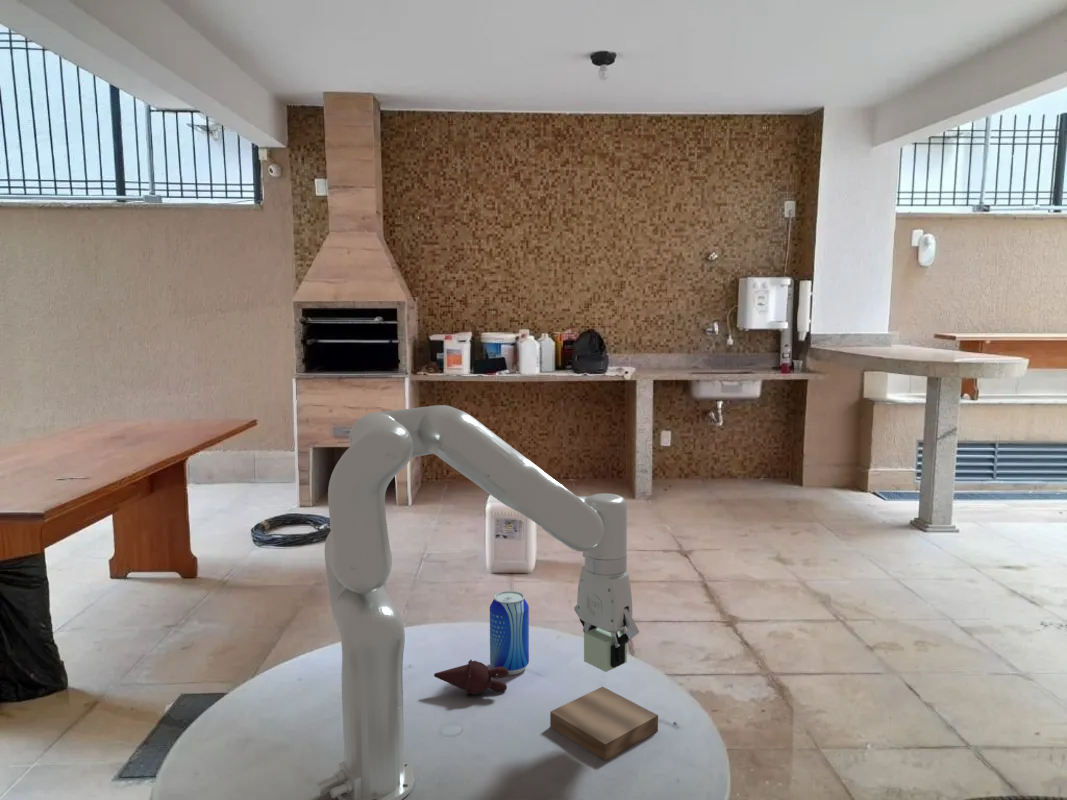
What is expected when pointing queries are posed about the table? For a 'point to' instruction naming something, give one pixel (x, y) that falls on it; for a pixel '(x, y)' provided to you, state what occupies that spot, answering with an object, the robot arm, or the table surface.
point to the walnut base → (604, 722)
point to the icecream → (474, 677)
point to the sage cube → (599, 648)
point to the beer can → (509, 632)
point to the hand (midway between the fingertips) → (605, 658)
